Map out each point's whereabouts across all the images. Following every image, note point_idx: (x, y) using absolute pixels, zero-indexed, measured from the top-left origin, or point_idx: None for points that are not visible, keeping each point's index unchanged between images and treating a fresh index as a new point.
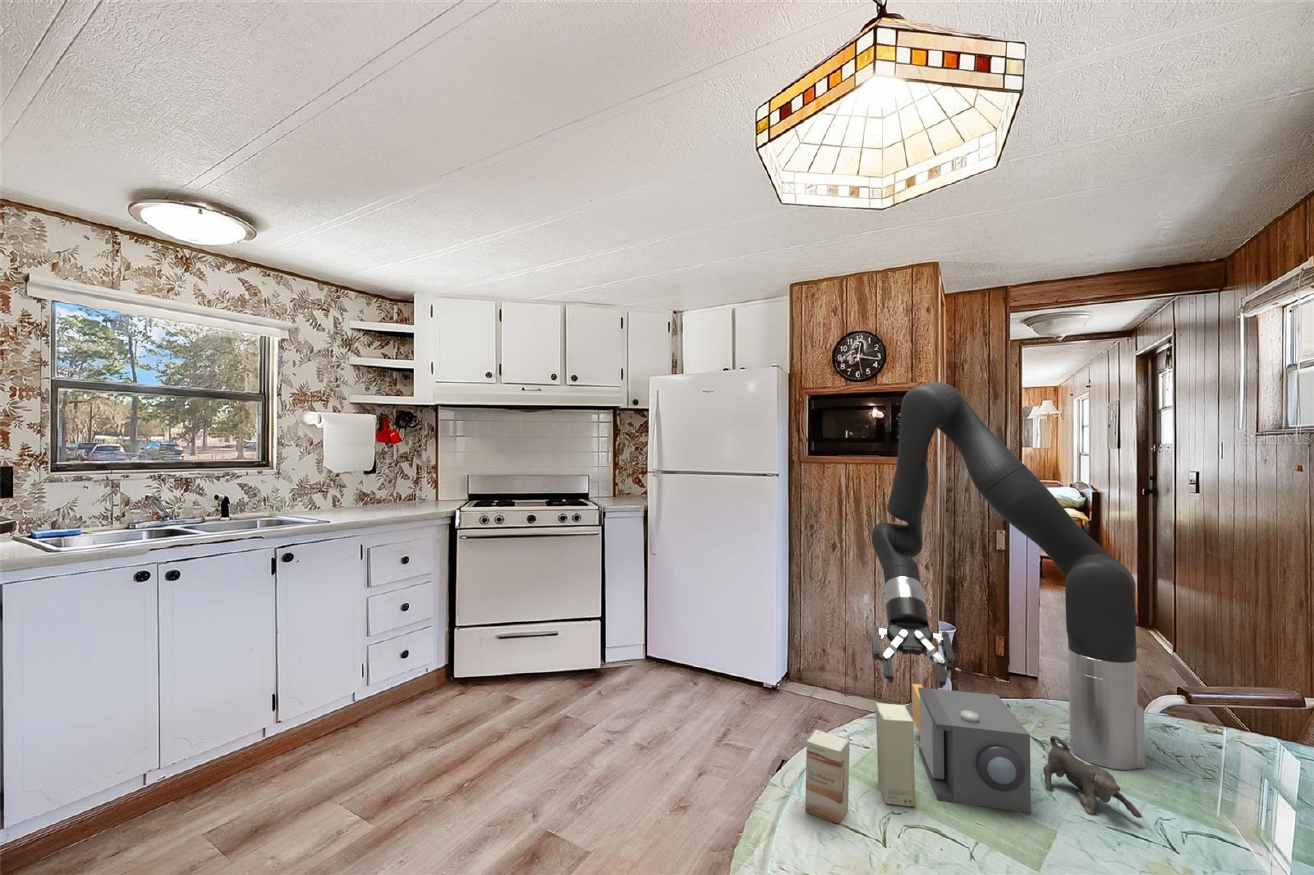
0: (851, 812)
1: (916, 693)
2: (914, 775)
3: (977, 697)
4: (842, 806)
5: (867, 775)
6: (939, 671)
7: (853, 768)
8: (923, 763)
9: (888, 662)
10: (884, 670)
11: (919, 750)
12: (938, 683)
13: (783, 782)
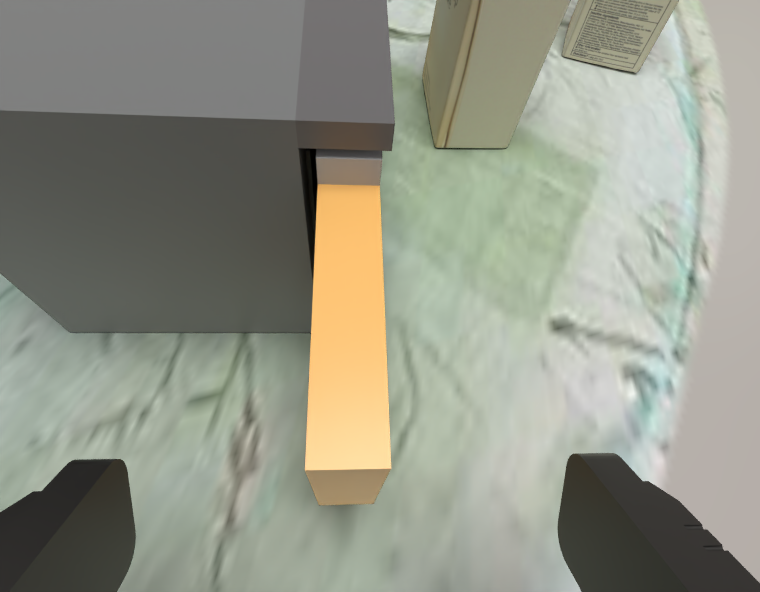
0: (553, 51)
1: (383, 280)
2: (436, 4)
3: (15, 52)
4: (577, 4)
5: (537, 170)
6: (25, 545)
7: (579, 193)
8: None
9: (728, 582)
10: (699, 526)
11: None
12: (117, 536)
13: (721, 109)
